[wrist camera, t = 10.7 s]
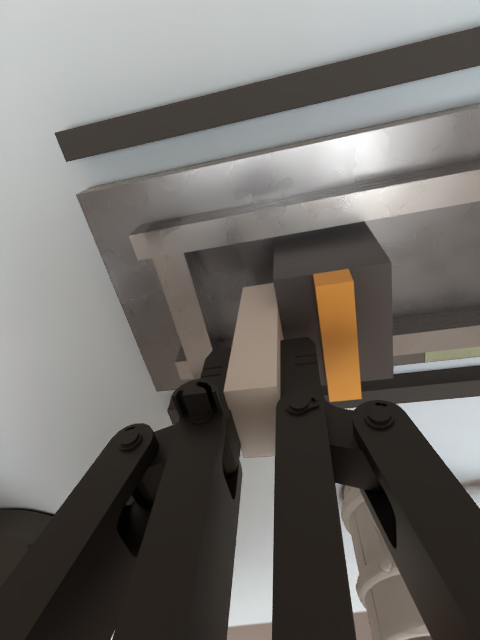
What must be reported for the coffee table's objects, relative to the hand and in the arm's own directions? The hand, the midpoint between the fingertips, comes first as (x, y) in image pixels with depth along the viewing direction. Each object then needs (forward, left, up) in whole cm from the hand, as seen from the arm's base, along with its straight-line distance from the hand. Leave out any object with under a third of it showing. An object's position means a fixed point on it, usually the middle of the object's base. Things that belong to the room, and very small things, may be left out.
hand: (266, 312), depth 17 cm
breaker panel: (+4, 0, -5) cm, 6 cm away
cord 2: (+4, +8, -5) cm, 10 cm away
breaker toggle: (+3, 0, -3) cm, 4 cm away
